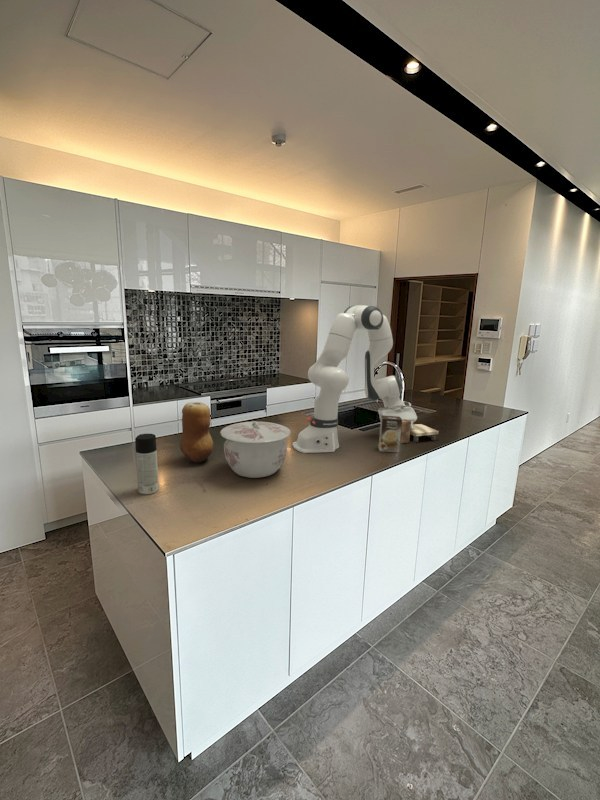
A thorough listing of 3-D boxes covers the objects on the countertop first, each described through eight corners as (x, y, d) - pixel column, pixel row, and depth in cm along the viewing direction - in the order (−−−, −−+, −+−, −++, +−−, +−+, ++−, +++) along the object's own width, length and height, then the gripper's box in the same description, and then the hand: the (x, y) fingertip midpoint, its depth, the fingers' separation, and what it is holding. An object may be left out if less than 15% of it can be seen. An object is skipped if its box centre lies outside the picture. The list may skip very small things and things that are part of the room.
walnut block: (400, 443, 193) (402, 422, 190) (394, 440, 197) (396, 419, 195) (409, 442, 195) (411, 421, 192) (403, 439, 199) (405, 419, 197)
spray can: (161, 486, 138) (158, 433, 134) (155, 495, 131) (151, 439, 127) (142, 486, 138) (139, 432, 133) (135, 495, 131) (131, 439, 127)
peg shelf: (415, 443, 194) (416, 433, 193) (398, 434, 207) (399, 425, 206) (437, 440, 199) (438, 431, 198) (420, 432, 212) (421, 423, 211)
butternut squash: (220, 459, 165) (219, 402, 160) (197, 469, 154) (195, 408, 149) (196, 452, 172) (194, 398, 167) (173, 462, 161) (170, 403, 155)
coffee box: (379, 451, 180) (381, 418, 177) (378, 447, 186) (380, 415, 183) (399, 452, 179) (402, 419, 176) (397, 448, 186) (400, 416, 182)
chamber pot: (264, 492, 136) (265, 436, 131) (205, 475, 149) (204, 423, 144) (303, 466, 160) (304, 418, 155) (249, 454, 172) (249, 409, 168)
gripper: (379, 405, 195) (388, 428, 188) (413, 402, 202) (423, 425, 195) (374, 411, 200) (383, 435, 193) (407, 409, 207) (416, 431, 200)
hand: (403, 430), depth 194 cm, fingers open, 8 cm apart
